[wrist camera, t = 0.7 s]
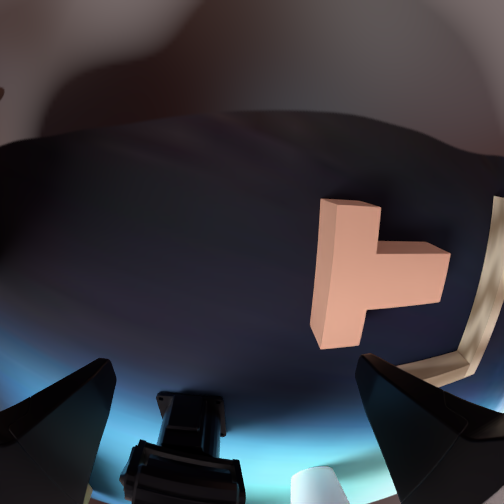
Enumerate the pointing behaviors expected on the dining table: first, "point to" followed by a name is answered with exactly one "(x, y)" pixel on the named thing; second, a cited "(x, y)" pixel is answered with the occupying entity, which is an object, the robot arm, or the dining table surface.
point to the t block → (366, 272)
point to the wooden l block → (472, 315)
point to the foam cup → (317, 487)
